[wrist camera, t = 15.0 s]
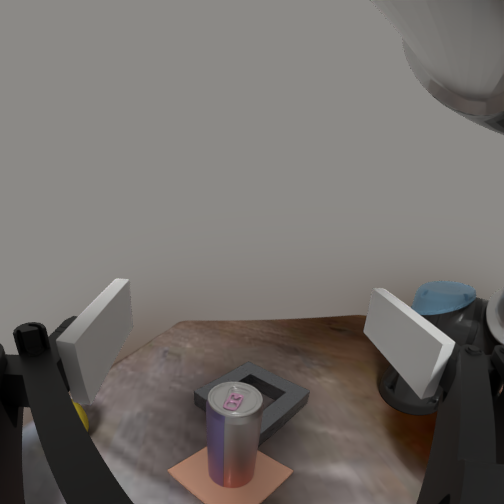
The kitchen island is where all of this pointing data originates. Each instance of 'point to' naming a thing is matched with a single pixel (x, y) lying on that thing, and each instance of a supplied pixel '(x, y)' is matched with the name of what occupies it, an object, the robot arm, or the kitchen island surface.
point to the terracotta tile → (230, 499)
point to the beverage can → (233, 432)
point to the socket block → (267, 383)
